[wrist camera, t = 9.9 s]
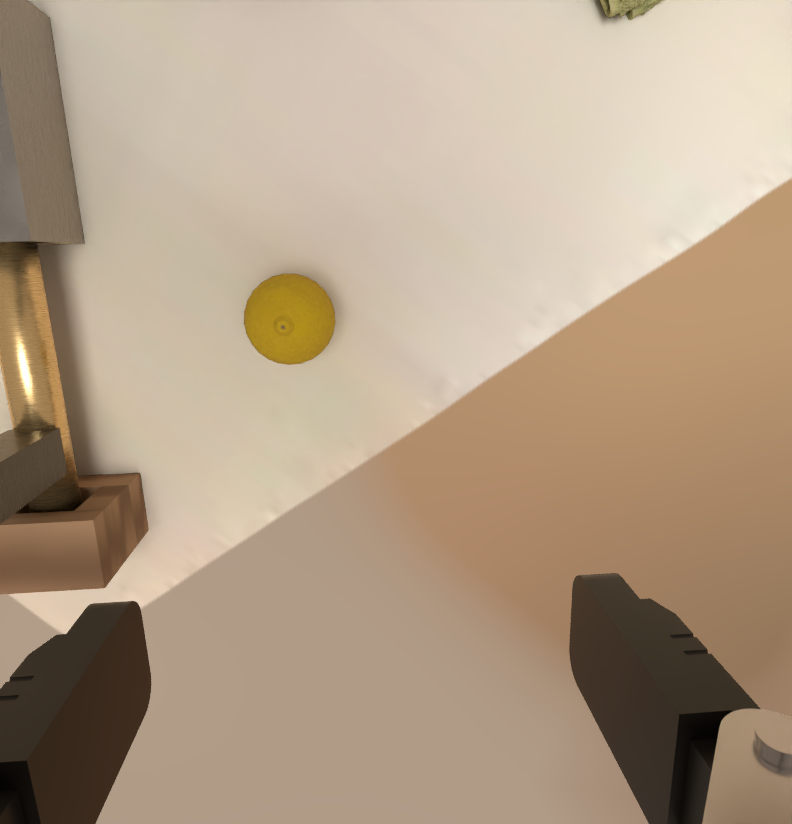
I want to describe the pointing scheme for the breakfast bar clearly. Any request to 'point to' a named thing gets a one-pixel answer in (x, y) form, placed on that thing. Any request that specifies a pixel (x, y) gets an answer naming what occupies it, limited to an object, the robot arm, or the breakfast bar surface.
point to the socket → (74, 538)
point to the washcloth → (627, 7)
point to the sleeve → (33, 134)
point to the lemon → (289, 319)
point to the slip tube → (32, 394)
